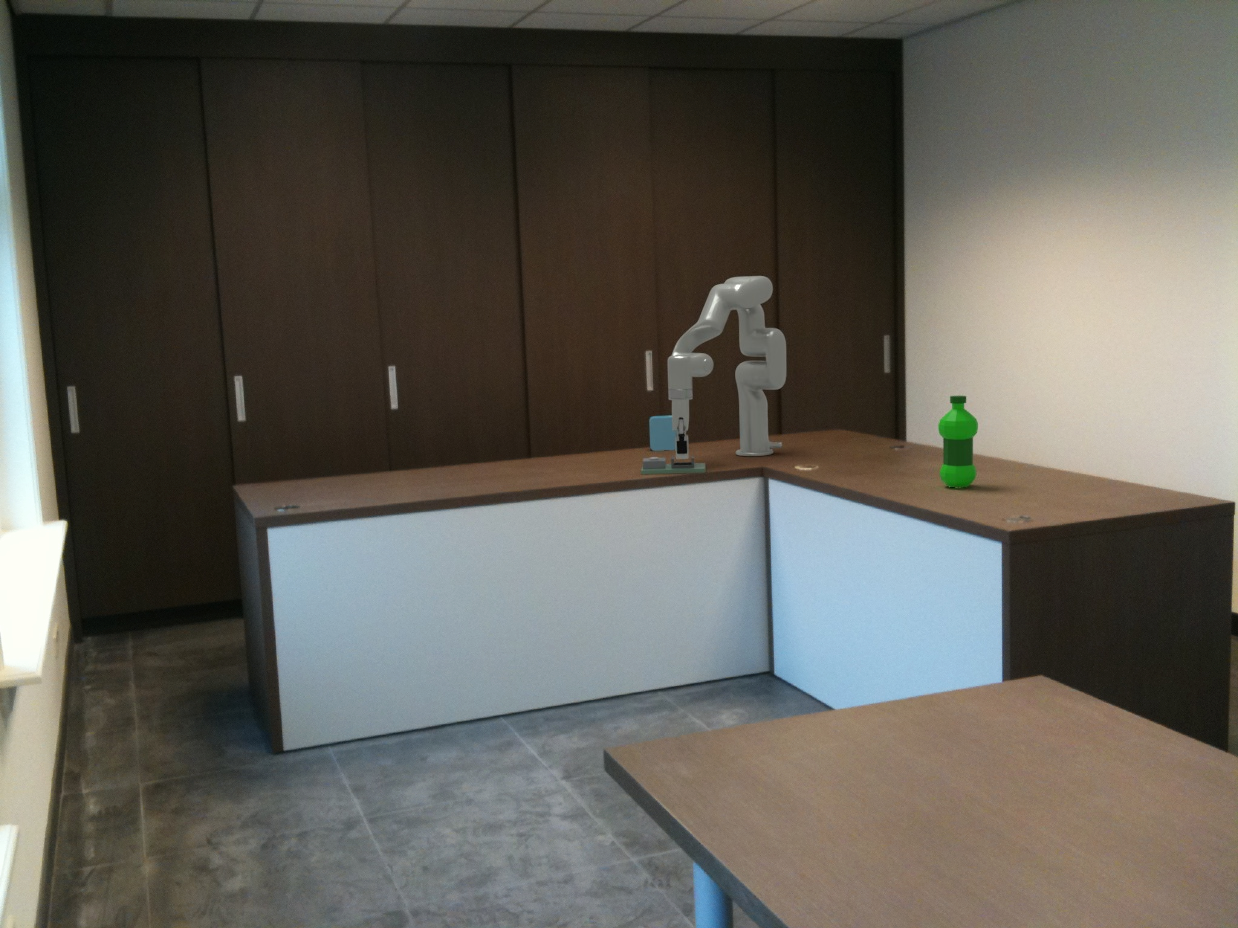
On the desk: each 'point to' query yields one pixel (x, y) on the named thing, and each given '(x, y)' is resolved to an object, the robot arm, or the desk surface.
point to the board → (670, 466)
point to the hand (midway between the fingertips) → (682, 452)
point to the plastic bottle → (958, 444)
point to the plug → (682, 456)
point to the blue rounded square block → (662, 433)
